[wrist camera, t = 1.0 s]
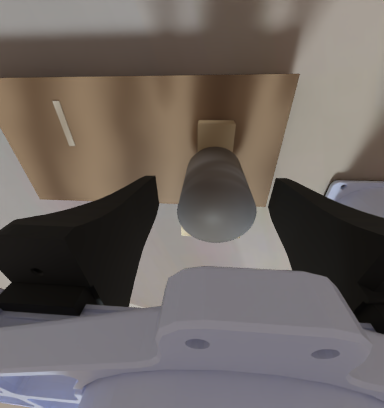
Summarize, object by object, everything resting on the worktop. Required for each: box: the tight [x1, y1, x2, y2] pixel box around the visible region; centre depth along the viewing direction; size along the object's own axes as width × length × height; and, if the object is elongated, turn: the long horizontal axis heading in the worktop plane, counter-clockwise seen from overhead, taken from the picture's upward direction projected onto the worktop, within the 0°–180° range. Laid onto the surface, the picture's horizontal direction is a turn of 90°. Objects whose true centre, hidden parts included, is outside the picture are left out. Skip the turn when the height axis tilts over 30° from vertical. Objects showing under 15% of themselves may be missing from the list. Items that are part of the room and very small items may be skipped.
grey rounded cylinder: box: [177, 120, 256, 243], centre depth 13 cm, size 5×9×8 cm, turn 1°
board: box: [0, 74, 300, 207], centre depth 16 cm, size 22×10×2 cm, turn 91°
